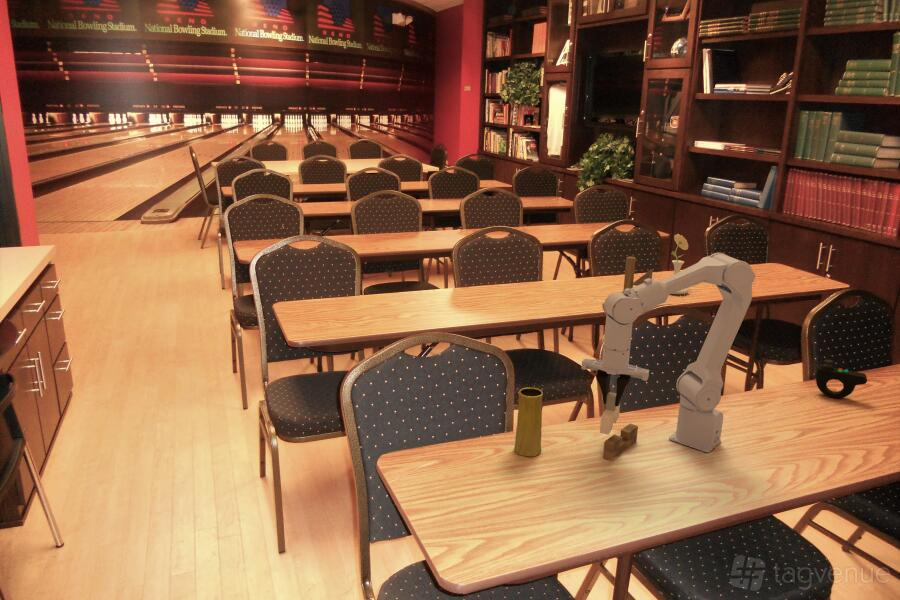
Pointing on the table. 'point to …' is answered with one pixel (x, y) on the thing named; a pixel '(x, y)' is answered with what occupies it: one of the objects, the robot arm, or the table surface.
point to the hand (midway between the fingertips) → (611, 403)
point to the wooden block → (630, 274)
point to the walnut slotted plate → (620, 442)
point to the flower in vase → (677, 263)
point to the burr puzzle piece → (609, 414)
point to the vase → (529, 422)
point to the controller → (844, 376)
